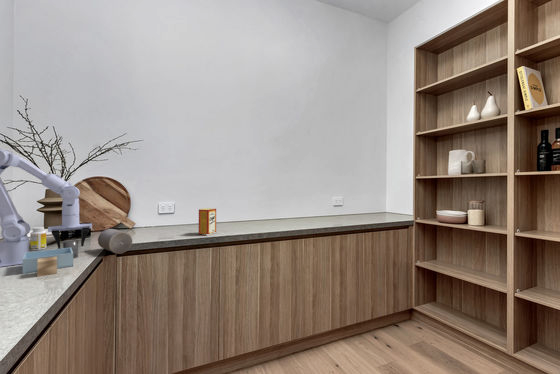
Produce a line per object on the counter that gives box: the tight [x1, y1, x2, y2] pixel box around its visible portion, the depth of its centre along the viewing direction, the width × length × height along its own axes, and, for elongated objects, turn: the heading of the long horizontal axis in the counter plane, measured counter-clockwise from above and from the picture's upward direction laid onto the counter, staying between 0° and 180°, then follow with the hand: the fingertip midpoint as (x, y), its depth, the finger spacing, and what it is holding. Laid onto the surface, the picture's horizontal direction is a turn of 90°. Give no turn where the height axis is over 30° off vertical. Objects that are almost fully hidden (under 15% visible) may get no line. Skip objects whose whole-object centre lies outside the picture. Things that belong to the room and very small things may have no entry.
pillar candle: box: [97, 228, 133, 255], centre depth 124 cm, size 10×10×15 cm
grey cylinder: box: [62, 239, 79, 259], centre depth 113 cm, size 5×5×7 cm
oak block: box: [36, 256, 58, 278], centre depth 93 cm, size 5×5×5 cm
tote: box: [22, 247, 74, 275], centre depth 101 cm, size 14×12×5 cm
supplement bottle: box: [29, 226, 47, 252], centre depth 126 cm, size 6×6×10 cm
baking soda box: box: [198, 207, 217, 235], centre depth 169 cm, size 10×6×16 cm
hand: (71, 247), depth 113 cm, fingers open, 7 cm apart
